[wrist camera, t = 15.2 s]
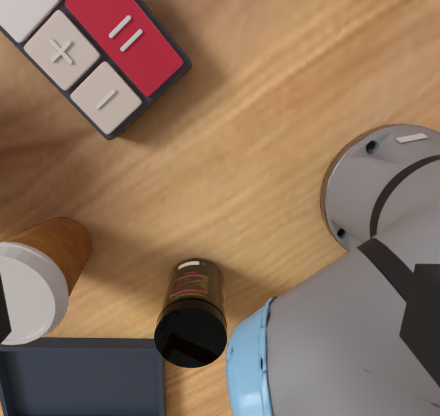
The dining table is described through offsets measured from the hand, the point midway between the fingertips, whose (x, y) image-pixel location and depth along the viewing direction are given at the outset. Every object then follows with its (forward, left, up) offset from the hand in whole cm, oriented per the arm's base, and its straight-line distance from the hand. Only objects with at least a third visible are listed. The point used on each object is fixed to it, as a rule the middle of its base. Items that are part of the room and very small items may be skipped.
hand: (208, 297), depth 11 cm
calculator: (+13, -9, -27) cm, 31 cm away
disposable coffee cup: (+15, +13, -27) cm, 33 cm away
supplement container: (-1, +15, -27) cm, 31 cm away
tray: (+11, +33, -27) cm, 43 cm away
